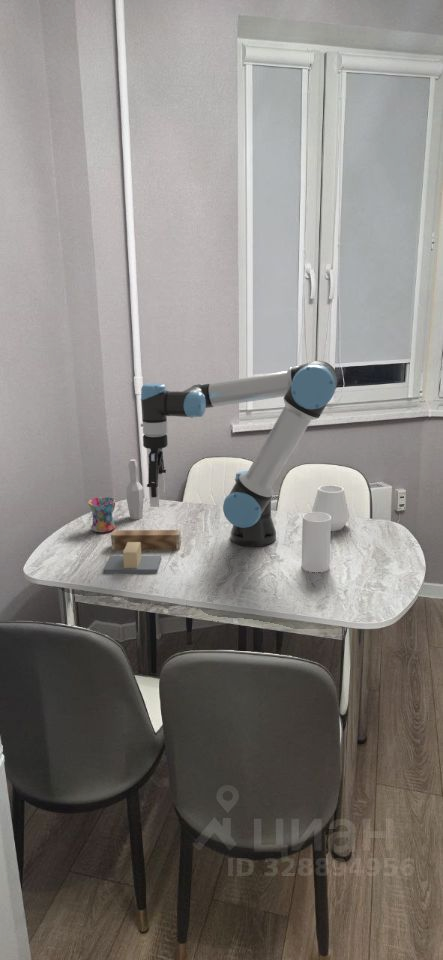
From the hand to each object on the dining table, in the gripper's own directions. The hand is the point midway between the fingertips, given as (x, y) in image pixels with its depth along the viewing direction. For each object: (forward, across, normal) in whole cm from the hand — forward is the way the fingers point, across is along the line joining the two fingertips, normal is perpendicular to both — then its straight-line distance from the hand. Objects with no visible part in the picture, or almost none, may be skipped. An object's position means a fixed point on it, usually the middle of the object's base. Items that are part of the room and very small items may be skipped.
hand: (157, 499), depth 196 cm
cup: (+16, +16, +49) cm, 54 cm away
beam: (+16, 0, -4) cm, 17 cm away
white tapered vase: (+16, -18, +58) cm, 63 cm away
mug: (+17, -17, -21) cm, 32 cm away
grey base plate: (+16, +15, -6) cm, 23 cm away
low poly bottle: (+17, -28, -12) cm, 35 cm away
